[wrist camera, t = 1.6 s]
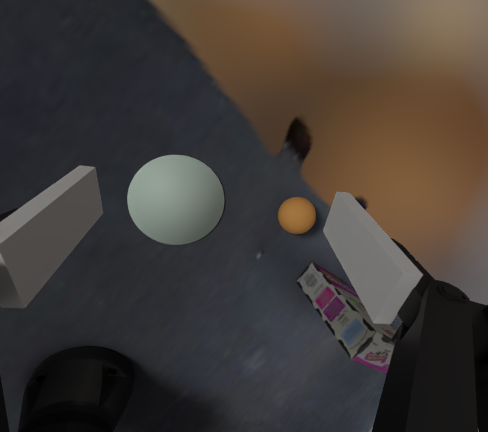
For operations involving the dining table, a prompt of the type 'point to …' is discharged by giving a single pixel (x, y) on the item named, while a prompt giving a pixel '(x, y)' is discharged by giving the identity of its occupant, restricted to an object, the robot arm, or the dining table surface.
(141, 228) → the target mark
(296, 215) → the ball
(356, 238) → the robot arm
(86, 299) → the dining table surface
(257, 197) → the dining table surface
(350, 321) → the candy bar box
